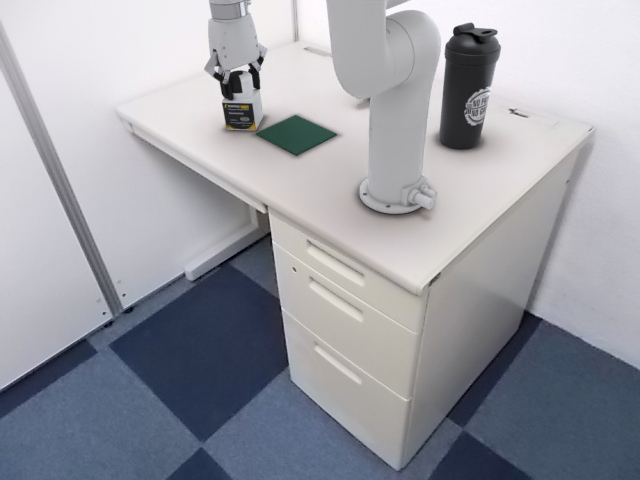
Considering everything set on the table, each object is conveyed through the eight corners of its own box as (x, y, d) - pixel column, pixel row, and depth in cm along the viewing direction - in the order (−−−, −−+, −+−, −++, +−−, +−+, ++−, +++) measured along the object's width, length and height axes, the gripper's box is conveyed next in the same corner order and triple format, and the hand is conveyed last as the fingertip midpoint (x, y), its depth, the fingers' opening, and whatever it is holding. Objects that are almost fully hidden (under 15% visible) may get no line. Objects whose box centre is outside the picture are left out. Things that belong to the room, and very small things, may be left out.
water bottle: (458, 156, 100) (476, 41, 85) (424, 137, 107) (435, 27, 92) (494, 142, 104) (516, 28, 89) (459, 124, 111) (475, 16, 96)
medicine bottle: (226, 130, 114) (217, 79, 106) (235, 116, 119) (226, 67, 112) (256, 131, 113) (249, 80, 105) (263, 117, 118) (257, 67, 110)
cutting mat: (336, 135, 110) (336, 133, 109) (296, 155, 104) (296, 154, 103) (295, 116, 118) (295, 114, 117) (255, 134, 112) (255, 132, 111)
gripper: (252, -3, 107) (261, 77, 118) (182, 16, 98) (200, 101, 109) (274, 3, 102) (282, 85, 114) (203, 23, 93) (219, 111, 105)
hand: (242, 92), depth 111 cm, fingers closed on medicine bottle, 6 cm apart
